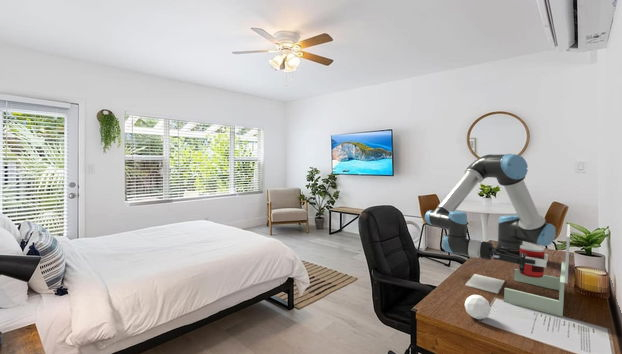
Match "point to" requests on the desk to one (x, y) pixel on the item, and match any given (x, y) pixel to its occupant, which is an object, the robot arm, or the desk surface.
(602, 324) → the desk surface
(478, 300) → the ball
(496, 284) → the tile pad
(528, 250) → the canned food
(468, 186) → the robot arm
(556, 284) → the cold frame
